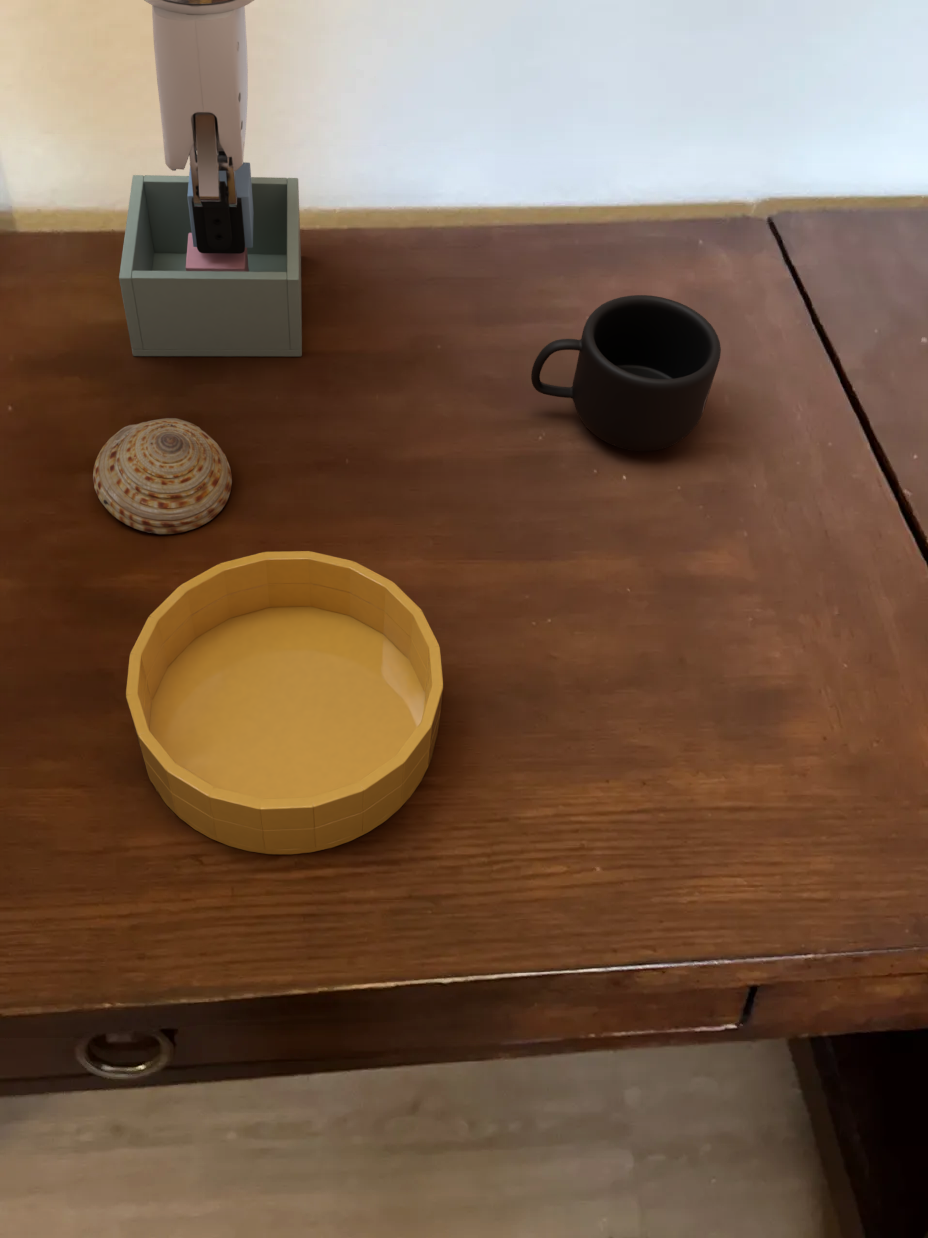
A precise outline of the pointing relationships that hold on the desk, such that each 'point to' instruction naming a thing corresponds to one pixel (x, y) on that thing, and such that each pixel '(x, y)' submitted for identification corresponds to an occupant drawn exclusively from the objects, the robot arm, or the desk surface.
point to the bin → (211, 276)
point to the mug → (639, 371)
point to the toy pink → (214, 260)
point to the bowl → (286, 701)
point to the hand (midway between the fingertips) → (222, 227)
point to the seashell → (162, 476)
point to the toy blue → (242, 192)
